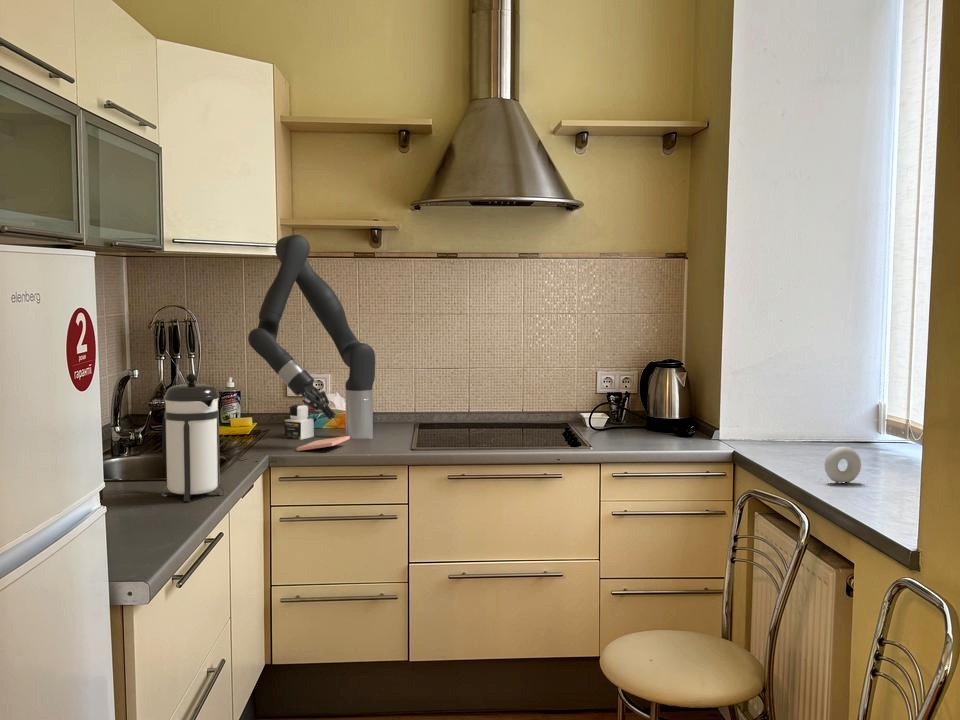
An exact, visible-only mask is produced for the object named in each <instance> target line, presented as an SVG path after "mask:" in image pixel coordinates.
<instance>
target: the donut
mask: <svg viewBox="0 0 960 720" xmlns="http://www.w3.org/2000/svg"><path fill="white" fill-rule="evenodd" d="M842 460H845V461H846V462H847V467H846V468H845V469H844V470H840V469H839V463H840V462H841V461H842ZM861 468H862V460H861V458H860V456H859V454H858V453H857V452H856V450H854V449H852V448H851V447H849V446H839V447H835V448H833V449H832V450H831V451H830V452H829V453H828V454H827V456H826V458H825V460H824V470H825V473H826V475H827V477H828V478H829V479H830V480H831V481H833V482H834V481H835V483H836V482H849V483H850V482H852V481H854V480H855V479H856V478H857V477H858V476H859V474H860V472H861Z"/></svg>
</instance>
